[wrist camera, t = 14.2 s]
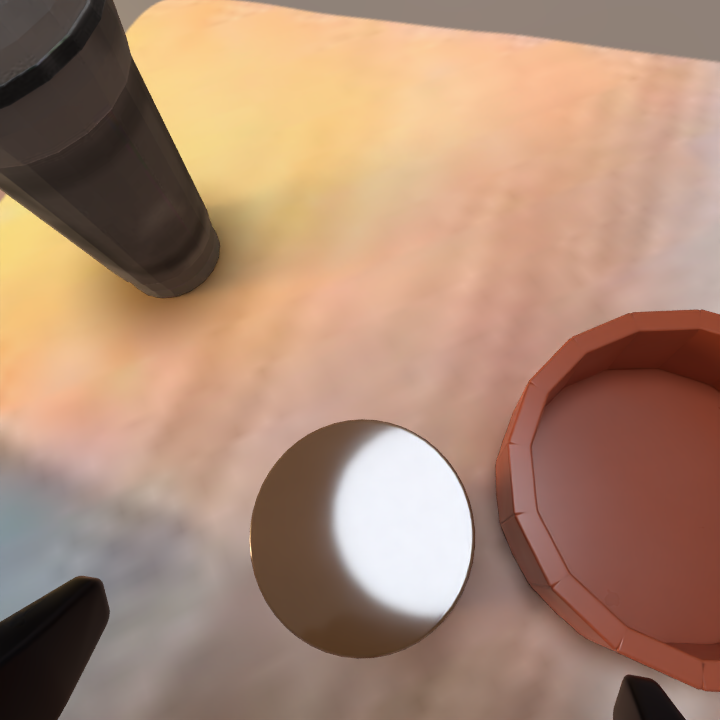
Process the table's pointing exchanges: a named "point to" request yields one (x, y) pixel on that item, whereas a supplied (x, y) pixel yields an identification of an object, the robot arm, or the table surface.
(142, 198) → the beverage cup
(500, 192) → the table surface
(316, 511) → the spice jar
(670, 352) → the pot
